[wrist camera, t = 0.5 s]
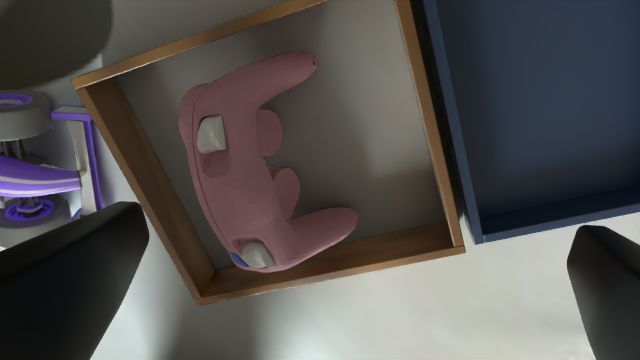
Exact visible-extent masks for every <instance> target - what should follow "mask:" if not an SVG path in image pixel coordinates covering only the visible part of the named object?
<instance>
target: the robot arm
mask: <svg viewBox="0 0 640 360" xmlns="http://www.w3.org/2000/svg"><path fill="white" fill-rule="evenodd" d="M148 242H149V230H148V227H147V223H146V219H145V216H144V212H143V209H142V206H141V205H140V204H139V203H137V202H125V201H121V202H117V203H115V204H112V205H110V206H108V207H105V208H103V209H100V210H98V211H96V212H93V213H91V214H89V215H86V216H84V217H81V218H79V219H77V220H74V221H72V222H69V223H67V224H65V225H62V226H60V227H58V228H55V229H53V230H50V231H48V232H46V233H43V234H41V235H38V236H36V237H34V238H31V239H29V240H27V241H24V242H22V243H19V244H17V245H15V246H12V247H10V248H8V249H5V250H3V251H0V360H90V358H91V356H92V355H93V353H94V351H95V349H96V348H97V346H98V344H99V342H100V341H101V339H102V337H103V335H104V334H105V332H106V330H107V328H108V327H109V325H110V323H111V321H112V320H113V318H114V316H115V314H116V313H117V311H118V309H119V307H120V305H121V303H122V301H123V299H124V297H125V295H126V293H127V291H128V289H129V286H130V284H131V282H132V279H133V277H134V275H135V273H136V270H137V268H138V266H139V263H140V261H141V259H142V257H143V254H144V252H145V250H146V247H147V245H148ZM567 270H568V274H569V277H570V280H571V284H572V287H573V291H574V294H575V297H576V301H577V304H578V308H579V311H580V314H581V318H582V321H583V324H584V328H585V331H586V334H587V337H588V340H589V343H590V345H591V348H592V350H593V353H594V355H595V357H596V360H640V245H639V244H637V243H635V242H633V241H631V240H629V239H628V238H626V237H624V236H622V235H620V234H618V233H616V232H615V231H613V230H611V229H609V228H607V227H604V226H593V225H583V226H581V227H579V228H578V230H577V232H576V235H575V238H574V241H573V244H572V246H571V249H570V252H569V255H568V259H567Z"/></svg>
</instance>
